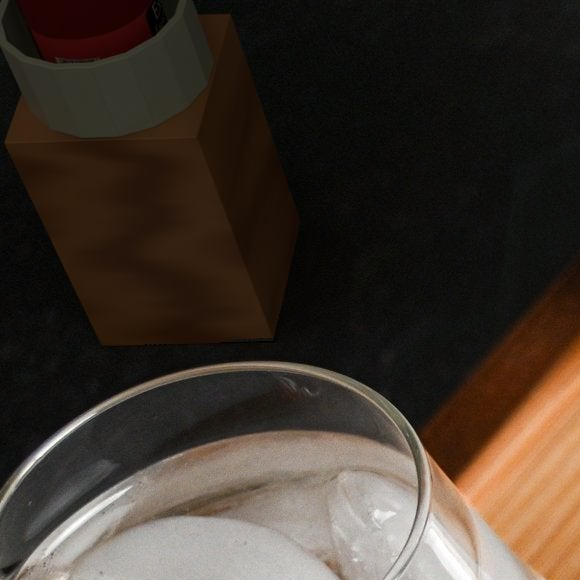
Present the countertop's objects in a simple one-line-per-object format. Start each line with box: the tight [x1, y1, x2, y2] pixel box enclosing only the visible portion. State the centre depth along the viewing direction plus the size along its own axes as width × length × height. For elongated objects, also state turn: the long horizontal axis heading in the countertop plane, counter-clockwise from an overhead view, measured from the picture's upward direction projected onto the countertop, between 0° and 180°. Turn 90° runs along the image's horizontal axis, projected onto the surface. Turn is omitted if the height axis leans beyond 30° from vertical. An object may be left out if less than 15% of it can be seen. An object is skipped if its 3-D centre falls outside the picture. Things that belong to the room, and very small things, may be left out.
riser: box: [4, 13, 302, 347], centre depth 128 cm, size 12×12×17 cm
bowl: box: [0, 0, 214, 138], centre depth 119 cm, size 12×12×5 cm
